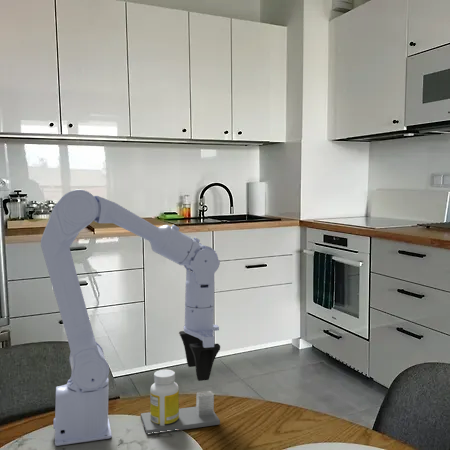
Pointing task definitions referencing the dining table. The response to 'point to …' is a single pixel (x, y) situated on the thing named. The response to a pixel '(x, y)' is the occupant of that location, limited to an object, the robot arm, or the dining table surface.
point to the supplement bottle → (164, 398)
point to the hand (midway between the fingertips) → (197, 372)
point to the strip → (188, 415)
